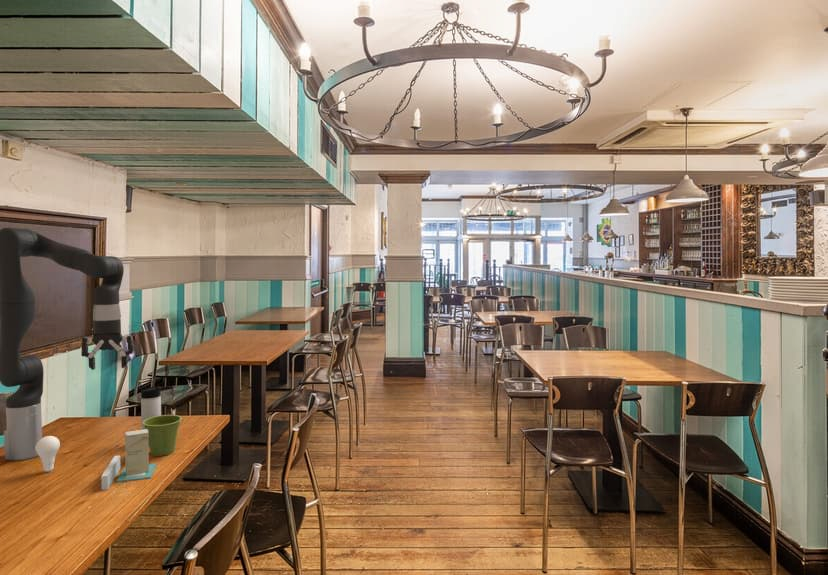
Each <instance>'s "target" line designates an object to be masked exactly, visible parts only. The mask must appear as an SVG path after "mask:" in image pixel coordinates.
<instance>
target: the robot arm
mask: <svg viewBox="0 0 828 575" xmlns="http://www.w3.org/2000/svg"><path fill="white" fill-rule="evenodd" d="M26 257H38V258H45V259H48V260H51V261H53V262H54V263H56V264H57V265H59V266H62V267H63V268H64V267H65V268H68V269H71V270H74V271H79V272H81V273H83V274H84V275H86V276H89V277H90V278H91V277H92V278H96V279H102V280H101V284H100V285H98V286H95V287H94V289H93V310H92V317H93V318H92V319H93V321H92V323H93V336H92V337H89V336H85V337H82V338H81V357H86V358H87V359H88V367H89V369H90V370H93V371H94V370H96V357H95V356H96V354H97V353H98V352H99V351H106V350H109V351H113V350H115V351H116V352H118V353H119V354H120V355H121V357H120V359H121V360H120V361H121V362H120V363H121V369H125V368H126V366H127V365H128V356H129V355H131V354H134V352H135V351H134V350H135V349H134V340H133V339H134V338H133V335H132V334H129V335H126V336H125V335H122V327H121V326H122V320H121V319H122V318H121V317H122V314H121V313H122V312H121V307H120V289H121V286H122V281H123V278H124V270H125V268H124V264H123V261H122V260H121V259H120V257H119V258H118V257H117V256H113V255H112V256H111V255H97V254H93V253H92V252H91V251H89V250H87V249H83V248H80V247H77V246H73V245H70V244H65V243H61V242H58V241H56V240H53V239H51V238H48V237H47V236H44V235H42V234H40V233H38V232H36V231H34V230H31V229H29V228H17V227H3V228H1V229H0V384H1V385H2V386H4V387H6V388H11V387H12V388H13V387H17V386H19V387H18V388H17V389H16V391H15V392H13V393H12V394H11V395H8V396H7V397H6V398H5V415H6V418H5V419H6V430H4V431H3V438H4V440H3V441H4V461H23V460H29V459H32V458H36V457H38V456H39V455H38V454H37V452H36V449H35V447H36V444H37V442H38V441H39V440H40V439H41V438H43V424H42V422H43V421H42V396H43V393H44V372H45V371H44V365H43V362H42V359H40V357H39V356H38V355H34V354H28V355H23V356H22V355H21V345H22V342H23V340H24V338H25V336H26V334H27V333H28V331H29V330H30V329H31V326H32V324H33V322H34V320H35V318H36V296H35V294H34V291H33V290H32V288H31V286H30V285H29V283H28V281H27V280H26V279H25V277H24V275H23V272H22V267H21V258H26ZM122 341H124V342H125V343H127V344H126V345H127V350H125V348H124V346H123V345H121V343H122ZM91 343H93V344H94V345H95V346H94V348H93V349H92V350H91V351H90V352H89V345H90V344H91ZM20 355H21V356H20Z"/></svg>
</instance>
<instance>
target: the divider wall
mask: <svg viewBox="0 0 828 575" xmlns="http://www.w3.org/2000/svg"><path fill="white" fill-rule="evenodd" d="M120 469H121V455H114V456H113V458H112V459H111V461H110V462H109V463H108V465H107V467H106V468H105V469H104V472H103V473H102V475H101V476H100V478H101V491H107V490H109V488H110V487H111V484H113V482H114V480H115V478H116V476H117V475H118V473H119V472H120Z"/></svg>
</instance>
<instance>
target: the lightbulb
mask: <svg viewBox="0 0 828 575" xmlns="http://www.w3.org/2000/svg"><path fill="white" fill-rule="evenodd" d="M60 447H61V442H60V440H59V438H58V437H56V436H53V435H47V436H44V437H43V436H42V438H41V439H40V440H39V441H38V442H37V444H36V447H35V449H36V452H37V454H38V456H39V457H40V461H41V465H43V466H42V467H43V471H44V472H46V473H50V472H52V470H54V469H55V468H54V467H55V465H54V464H55V462H56V460H55V459H56V455H57V453H58V452H59V449H60Z"/></svg>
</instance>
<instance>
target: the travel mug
mask: <svg viewBox="0 0 828 575" xmlns="http://www.w3.org/2000/svg"><path fill="white" fill-rule="evenodd" d="M161 390H162V386H152V387H148V388H144V389H142V390H141V391H140V408H141V411H140V412H141V413H140V416H141V418H140V419H141V430H143V429H145V425H143V421H144V420H146V419H148V418H151V417H155V416H161V415H162V398H161V397H162V396H161ZM148 446H149V442H148Z"/></svg>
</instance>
